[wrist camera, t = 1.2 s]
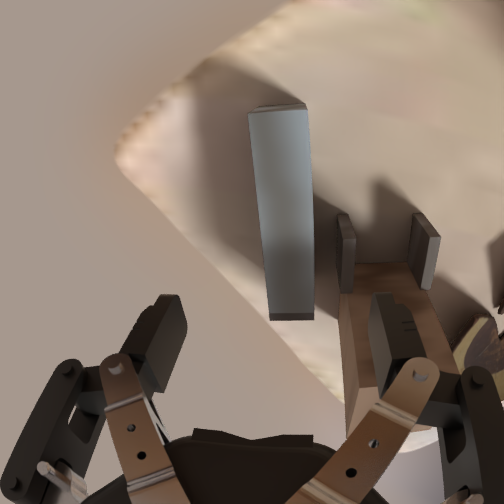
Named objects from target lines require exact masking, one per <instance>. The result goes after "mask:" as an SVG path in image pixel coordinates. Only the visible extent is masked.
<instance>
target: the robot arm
mask: <svg viewBox="0 0 504 504" xmlns="http://www.w3.org/2000/svg"><path fill="white" fill-rule="evenodd" d="M186 334H187V321H186V318H185V314H184V311H183V308H182V304H181V301H180V298H179V296H178V295H171V294H167V295H166V294H161V295H160V296H159V297H158V299H157V301H156V302H155V304H154V306H149V307H147V309H145V310H144V311H143V312H142V313H141V314H140V316H139V318H138V319H137V323H135V325H134V326H133V330H131V332H130V333H129V335H128V337H127V339H126V341H125V342H124V344H123V346H122V348H121V350H120V351H119V353H115V354H112V355H110V356H108V357H106V358H105V359H104V360H103V361H102V363H101V364H100V366H93V367H83V365H82V364H81V362H80V361H79V360H77V359H68V360H65V361H63V362H62V363H60V364H59V365H58V366H57V368H56V369H55V371H54V372H53V374H52V376H51V378H50V380H49V381H48V383H47V385H46V387H45V389H44V390H43V392H42V394H41V396H40V398H39V399H38V401H37V403H36V405H35V407H34V409H33V411H32V413H31V415H30V417H29V419H28V421H27V423H26V425H25V427H24V429H23V431H22V433H21V435H20V437H19V439H18V441H17V443H16V445H15V447H14V450H13V452H12V454H11V456H10V458H9V460H8V463H7V465H6V467H5V470H4V472H3V474H2V477H1V480H0V488H1V491H2V493H3V495H4V496H5V497H6V498H7V499H9V500H10V501H12V502H14V503H15V504H389V503H388V502H387V501H386V500H385V499H384V498H383V497H382V496H381V495H380V494H379V493H378V492H377V491H376V490H375V489H374V488H373V487H374V486H375V484H376V483H377V482H378V480H379V479H380V478H381V476H382V475H383V473H384V472H385V470H386V469H387V468H388V466H389V465H390V463H391V462H392V460H393V459H394V457H395V456H396V454H397V453H398V451H399V450H400V448H401V447H402V445H403V443H404V442H405V440H406V439H407V437H408V435H409V434H410V432H411V430H412V429H413V427H414V425H415V424H419V425H426V426H432V427H437V432H438V438H439V446H440V453H441V462H442V471H443V481H444V495H445V501H444V502H442V503H441V504H504V410H503V407H502V403H501V400H500V397H499V394H498V391H497V388H496V385H495V382H494V379H493V376H492V375H491V373H490V372H489V371H488V370H487V369H485V368H483V367H480V366H470V367H468V368H466V369H465V370H464V371H463V372H462V374H454V373H447V372H443V371H440V370H439V369H438V367H437V365H436V364H435V363H434V362H433V361H431V360H429V359H428V358H427V355H426V352H425V349H424V346H423V343H422V340H421V337H420V334H419V332H418V331H417V326H416V323H415V321H414V318H413V315H412V312H411V311H410V310H409V309H408V308H407V307H406V306H405V305H404V304H395V301H394V298H393V295H392V293H391V292H374V293H373V294H372V299H371V306H370V313H369V319H368V336H369V341H370V347H371V352H372V357H373V363H374V369H375V375H376V381H377V387H378V393H379V399H381V400H380V402H379V403H375V404H374V405H373V406H372V407H371V409H370V410H369V411H368V413H367V414H366V415H365V417H364V418H363V419H362V421H361V422H360V423H359V424H358V426H357V427H356V428H355V430H354V431H353V432H352V433H351V435H350V436H349V437H348V438H347V440H346V441H345V442H344V443H343V444H342V446H341V447H340V448H339V449H338V450H337V451H335V450H334V449H332V448H330V447H327V446H325V445H322V444H319V443H314V442H313V435H279V436H274V437H268V438H262V439H256V440H249V439H245V438H242V437H239V436H235V435H233V434H229V433H226V432H223V431H217V430H207V429H198V428H194V430H193V434H192V436H186V437H182V438H178V439H176V440H173V441H172V440H171V438H170V436H169V434H168V433H167V431H166V428H165V426H164V424H163V422H162V419H161V417H160V415H159V413H158V410H157V408H156V406H155V404H154V401H153V399H152V396H153V393H154V392H159V393H164V391H165V389H166V386H167V383H168V381H169V378H170V376H171V373H172V371H173V368H174V365H175V363H176V360H177V358H178V355H179V353H180V350H181V347H182V345H183V342H184V340H185V337H186ZM74 406H76V410H75V412H74V414H73V416H72V419H71V420H70V423H69V425H68V419H69V417H70V414H71V412H72V410H73V408H74ZM106 419H107V422H108V426H109V429H110V433H111V436H112V440H113V443H114V446H115V449H116V452H117V455H118V458H119V461H120V464H121V467H122V470H123V473H124V474H122V475H121V476H119V477H118V478H116V479H115V480H113V481H112V482H110V483H109V484H107V485H106V486H104V487H103V488H101V489H100V490H98V491H97V492H95V493H93V494H92V495H90V496H88V493H87V486H86V482H85V481H84V477H85V474H86V471H87V468H88V466H89V463H90V460H91V457H92V454H93V452H94V449H95V446H96V444H97V441H98V438H99V436H100V433H101V430H102V428H103V425H104V423H105V420H106Z"/></svg>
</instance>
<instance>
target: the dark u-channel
mask: <svg viewBox="0 0 504 504" xmlns="http://www.w3.org/2000/svg"><path fill="white" fill-rule="evenodd" d="M440 240H441V236H440V235H439V234H438V232H437V231H436V230H435V228H434V227H433V226H432V224H431V223H430V222H429V221H428V219H427V218H426V217H425V215H424V214H413V219H412V228H411V236H410V244H409V251H408V258H407V262H395V263H364V264H355V253H356V236H355V233H354V230H353V227H352V224H351V221H350V218H349V215H348V214H343V215H337V252H336V266H337V273H338V279H339V286H340V300H339V315H338V325H339V335H340V345H341V357H342V370H343V383H344V399H345V419H346V439H347V438H348V437H349V436H350V435H351V433H352V432H353V431H354V430H355V428H356V427H357V426H358V424H359V423H360V422H361V421H362V419H363V418H364V417H365V415H366V414H367V413H368V411H369V410H370V409H371V407H372V406H373V405H374V404H375V403H379V402H380V400H381V399H379V393H378V387H377V381H376V375H375V369H374V363H373V357H372V352H371V347H370V341H369V336H368V319H369V313H370V306H371V299H372V294H373V293H374V292H391V293H392V295H393V298H394V301H395V304H404V305H405V306H406V307H407V308H408V309H409V310H410V311H411V312H412V315H413V318H414V321H415V323H416V326H417V331H418V332H419V334H420V337H421V340H422V343H423V346H424V349H425V352H426V355H427V358H428V359H429V360H431V361H433V362H434V363H435V364H436V365H437V367H438V369H439V370H440V371H443V372H447V373H454V374H460V373H459V370H458V367H457V364H456V362H455V359H454V356H453V354H452V351H451V349H450V346H449V344H448V341H447V339H446V336H445V334H444V331H443V329H442V326H441V324H440V322H439V319H438V317H437V315H436V312H435V310H434V308H433V306H432V304H431V301H430V299H429V297H428V295H427V293H426V290H430V289H431V285H432V280H433V276H434V271H435V266H436V262H437V256H438V251H439V246H440ZM431 427H432V426H426V425H419V424H415V425H414V427H413V429H412V430H411V432H417V431H423V430H429V429H431Z"/></svg>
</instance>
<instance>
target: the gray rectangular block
mask: <svg viewBox="0 0 504 504" xmlns="http://www.w3.org/2000/svg"><path fill="white" fill-rule="evenodd" d="M248 122H249V131H250V140H251V149H252V158H253V166H254V175H255V184H256V194H257V203H258V212H259V221H260V231H261V240H262V249H263V259H264V269H265V278H266V288H267V298H268V308H269V318H270V321H292V320H314V220H313V191H312V169H311V151H310V135H309V121H308V109H307V107H306V104H287V105H272V106H259V107H257V108H256V109H254V110H253V111H251V112H249V113H248Z"/></svg>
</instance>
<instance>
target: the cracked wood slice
mask: <svg viewBox="0 0 504 504" xmlns="http://www.w3.org/2000/svg"><path fill="white" fill-rule="evenodd" d="M503 313H504V297H503V301H502V303H501V304H500V307H499V309H498V314H501V315H502V314H503ZM450 349H451V351H452V354H453V356H454V359H455V362H456V364H457V367H458V370H459V373H460V374H462V372H463V371H464V370H465V369H466V368H468V367H470V366H480V367H483V368H485V369H487V370H488V371H489V372H490V373H491V375H492V376H493V379H494V382H495V385H496V388H497V391H498V394H499V397H500V400H501V401H503V400H504V334H503V336H502V337H501V338H500V339H499V337H498V330H497V324H496V321H495V319H494V317H492V316H491V315H487V314H475V315H474V316H472V318H471V319H470V320H469V321H468V322H467V324H466V325H465V326H464V328H463V329H462V330H461V332H460V333H459V335H458V336H457V338H456V339H455V341H454V342H453V344H452V346H451V347H450Z"/></svg>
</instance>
